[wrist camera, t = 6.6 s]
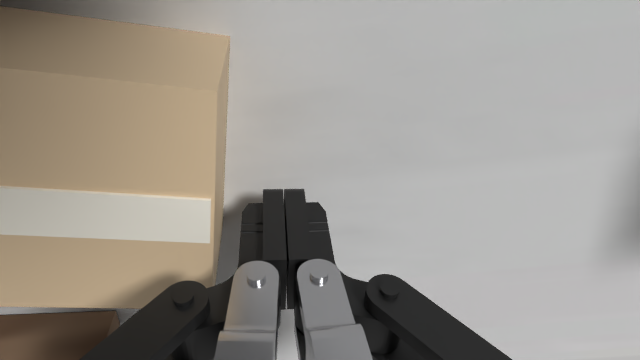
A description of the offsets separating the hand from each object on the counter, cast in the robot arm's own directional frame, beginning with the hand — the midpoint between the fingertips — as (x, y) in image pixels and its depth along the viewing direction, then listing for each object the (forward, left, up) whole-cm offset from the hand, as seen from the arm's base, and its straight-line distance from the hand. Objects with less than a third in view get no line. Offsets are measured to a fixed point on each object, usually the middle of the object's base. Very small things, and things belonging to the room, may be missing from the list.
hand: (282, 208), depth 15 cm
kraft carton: (-5, -4, -2) cm, 7 cm away
